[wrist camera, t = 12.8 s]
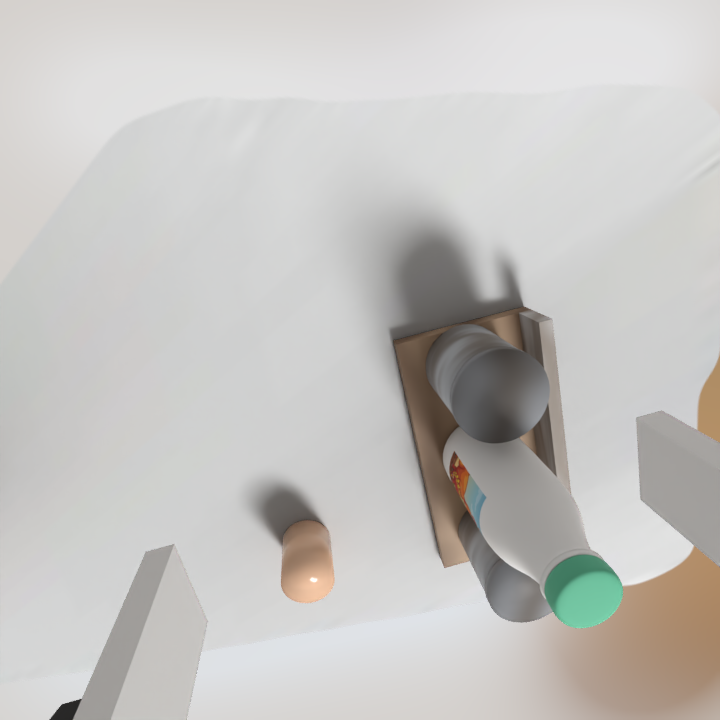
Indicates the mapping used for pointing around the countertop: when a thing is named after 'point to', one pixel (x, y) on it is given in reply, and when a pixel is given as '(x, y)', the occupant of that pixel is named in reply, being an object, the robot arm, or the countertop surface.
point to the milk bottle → (533, 525)
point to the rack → (484, 428)
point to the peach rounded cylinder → (307, 562)
